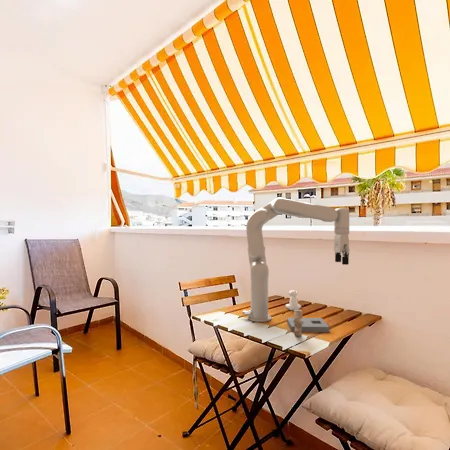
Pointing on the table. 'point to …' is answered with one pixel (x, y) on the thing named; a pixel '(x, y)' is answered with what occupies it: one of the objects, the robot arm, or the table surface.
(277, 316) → the table surface
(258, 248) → the robot arm
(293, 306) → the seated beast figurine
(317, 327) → the hole board
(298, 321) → the birch peg
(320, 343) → the table surface
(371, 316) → the table surface
